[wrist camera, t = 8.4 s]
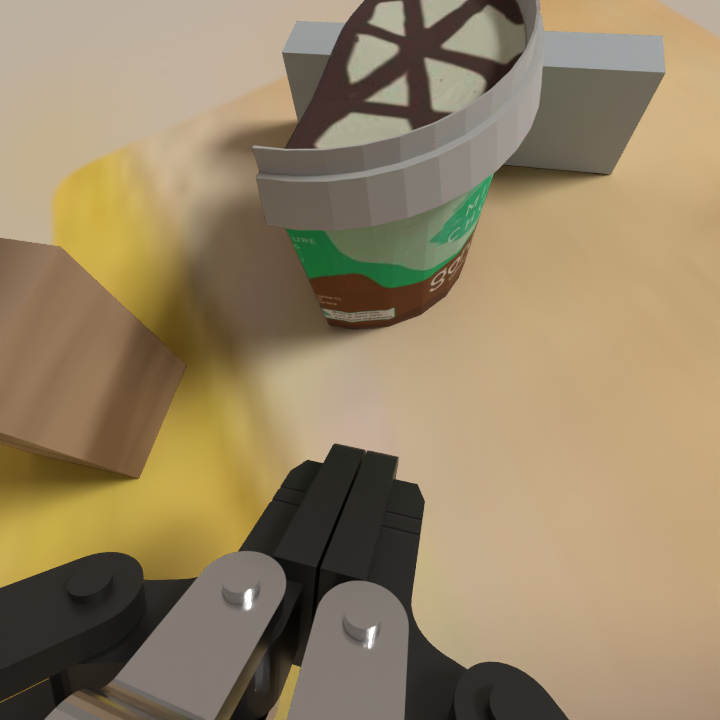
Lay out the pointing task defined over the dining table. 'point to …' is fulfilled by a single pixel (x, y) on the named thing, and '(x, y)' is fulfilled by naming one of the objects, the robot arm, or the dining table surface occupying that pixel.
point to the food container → (403, 150)
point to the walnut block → (77, 365)
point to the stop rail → (558, 92)
